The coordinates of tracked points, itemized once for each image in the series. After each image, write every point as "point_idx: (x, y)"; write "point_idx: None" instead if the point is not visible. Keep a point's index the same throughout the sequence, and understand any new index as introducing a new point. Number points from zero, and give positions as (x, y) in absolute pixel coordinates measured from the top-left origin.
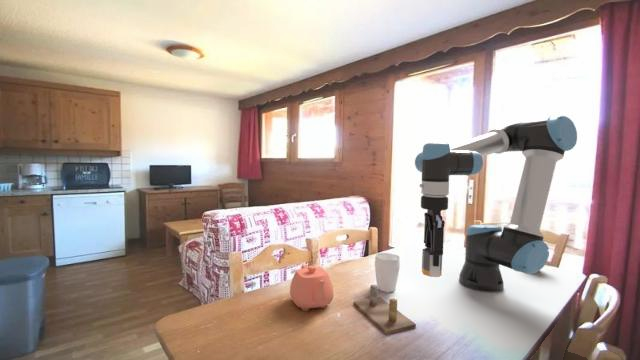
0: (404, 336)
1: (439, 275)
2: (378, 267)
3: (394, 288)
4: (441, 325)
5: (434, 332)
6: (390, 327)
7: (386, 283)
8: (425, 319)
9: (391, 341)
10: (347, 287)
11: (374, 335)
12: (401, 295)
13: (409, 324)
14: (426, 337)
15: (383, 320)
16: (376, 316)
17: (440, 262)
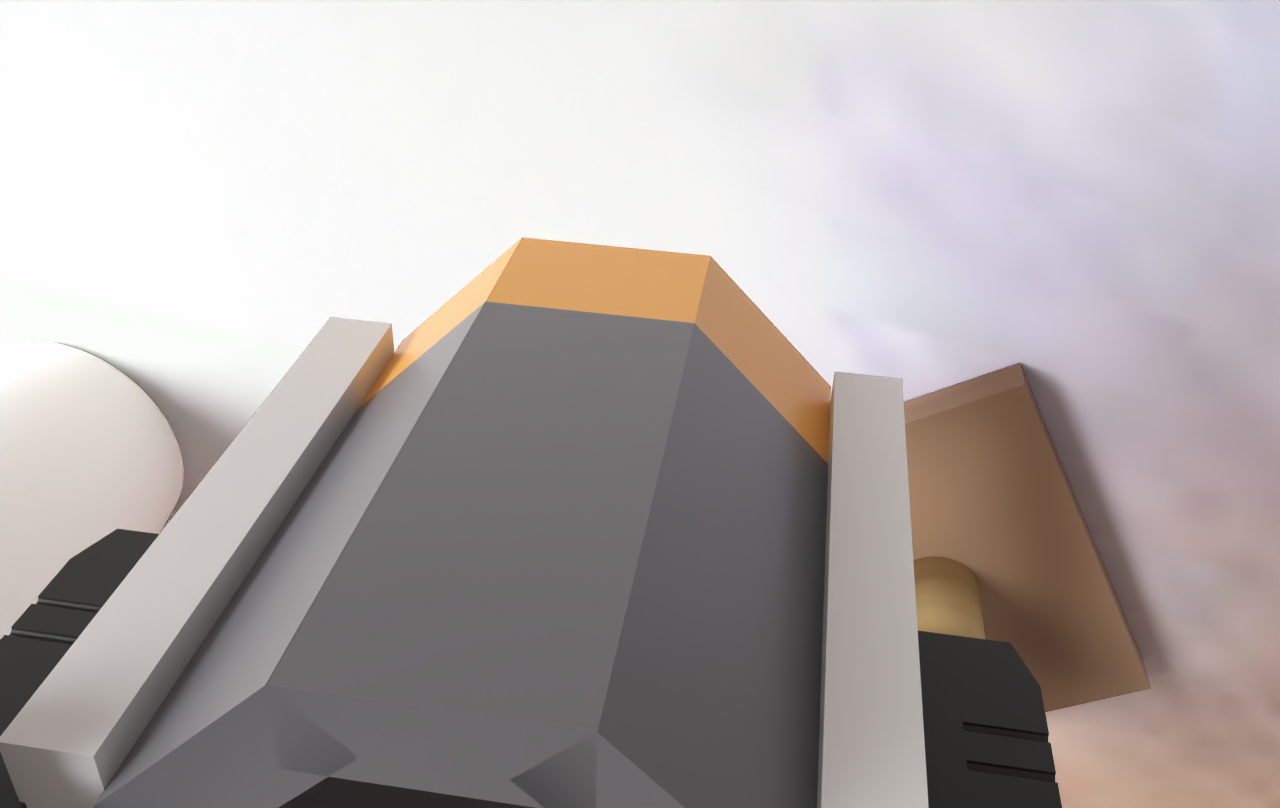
0: (1189, 517)
1: (902, 403)
2: None
3: (107, 388)
4: (971, 25)
5: (1139, 179)
6: (1083, 639)
7: None
8: (820, 191)
9: (1262, 643)
10: None
11: (1142, 743)
12: (212, 309)
13: (1028, 452)
14: (1238, 308)
15: None
16: None
17: (721, 525)
